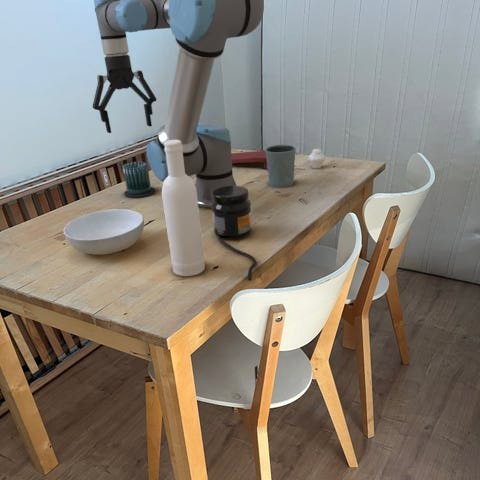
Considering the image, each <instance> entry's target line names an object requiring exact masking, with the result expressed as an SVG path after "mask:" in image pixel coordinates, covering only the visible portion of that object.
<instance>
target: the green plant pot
mask: <svg viewBox="0 0 480 480" xmlns="http://www.w3.org/2000/svg"><path fill="white" fill-rule="evenodd" d="M296 149H297V148H296V146H294V145H292V144H275V145H271V146H267V147H266V148H265V149H264V150H265V153H266V160H267V169H266V170H267V174H268V184H269V186H271V187H274V188H287V187H291V186H293V185H294V182H295V167H296V166H295V160H296V151H297V150H296Z"/></svg>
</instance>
